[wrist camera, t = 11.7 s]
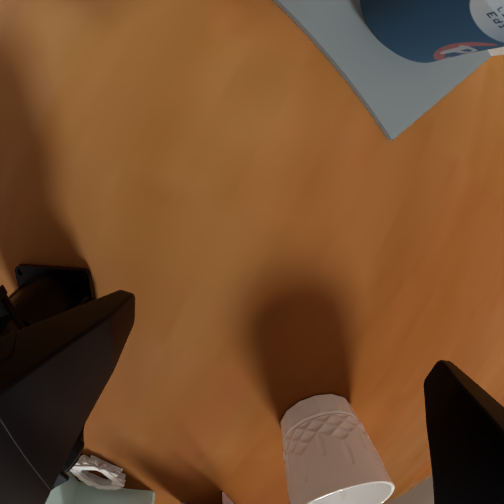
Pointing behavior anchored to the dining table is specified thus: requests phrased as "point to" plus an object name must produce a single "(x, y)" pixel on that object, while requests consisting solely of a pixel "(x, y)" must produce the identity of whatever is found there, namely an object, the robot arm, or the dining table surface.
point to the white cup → (331, 455)
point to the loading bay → (379, 63)
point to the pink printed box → (226, 500)
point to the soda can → (435, 26)
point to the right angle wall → (97, 486)
